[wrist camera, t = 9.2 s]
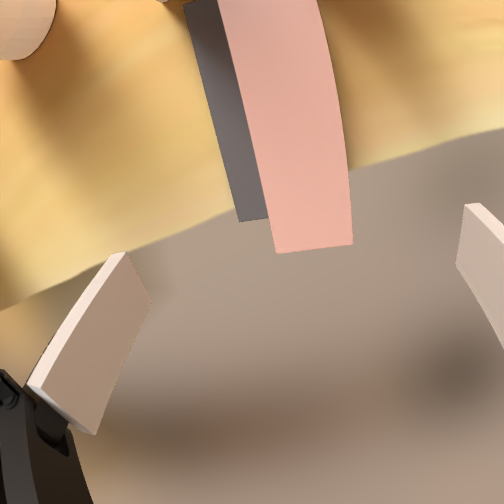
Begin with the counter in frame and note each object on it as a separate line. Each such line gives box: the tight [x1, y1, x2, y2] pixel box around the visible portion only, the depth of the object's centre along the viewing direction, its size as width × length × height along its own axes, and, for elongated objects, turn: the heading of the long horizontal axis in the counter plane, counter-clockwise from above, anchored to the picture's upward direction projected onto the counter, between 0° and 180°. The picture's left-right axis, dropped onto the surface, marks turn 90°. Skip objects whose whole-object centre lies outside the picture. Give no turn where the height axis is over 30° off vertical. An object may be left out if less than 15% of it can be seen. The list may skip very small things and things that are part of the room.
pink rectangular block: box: [217, 0, 353, 254], centre depth 14 cm, size 4×14×6 cm, turn 12°
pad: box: [183, 0, 269, 222], centre depth 17 cm, size 8×16×1 cm, turn 12°
